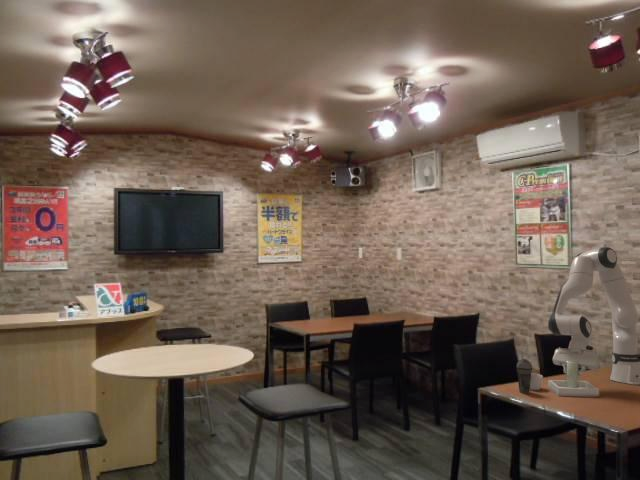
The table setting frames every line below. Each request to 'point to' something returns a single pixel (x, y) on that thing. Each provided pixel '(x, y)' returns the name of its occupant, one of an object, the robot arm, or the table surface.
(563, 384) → the tray
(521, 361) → the beverage cup
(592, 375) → the table surface
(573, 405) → the table surface
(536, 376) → the candle
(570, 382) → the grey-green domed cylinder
